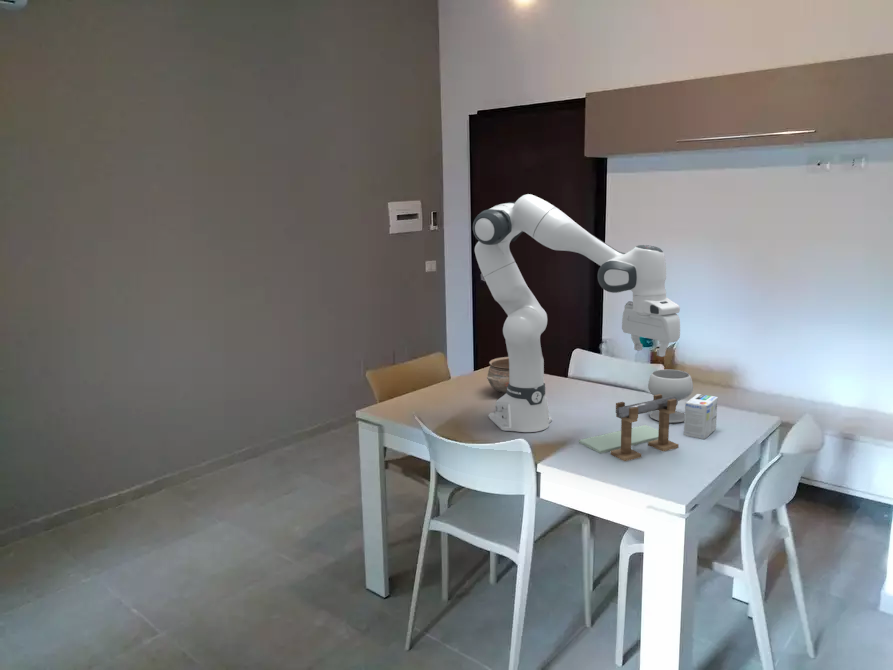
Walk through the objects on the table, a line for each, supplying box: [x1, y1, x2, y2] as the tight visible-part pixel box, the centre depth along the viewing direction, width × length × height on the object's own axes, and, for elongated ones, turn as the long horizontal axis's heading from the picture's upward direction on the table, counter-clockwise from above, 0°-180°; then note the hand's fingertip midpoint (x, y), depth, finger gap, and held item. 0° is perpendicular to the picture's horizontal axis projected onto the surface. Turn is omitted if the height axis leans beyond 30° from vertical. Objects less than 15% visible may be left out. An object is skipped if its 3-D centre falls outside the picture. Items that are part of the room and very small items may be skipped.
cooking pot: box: [486, 356, 509, 395], centre depth 249 cm, size 25×19×12 cm
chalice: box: [647, 368, 694, 424], centre depth 216 cm, size 14×14×15 cm
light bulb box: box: [683, 393, 719, 440], centre depth 202 cm, size 11×7×11 cm, turn 141°
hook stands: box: [610, 394, 679, 462], centre depth 189 cm, size 6×20×15 cm, turn 116°
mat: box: [578, 424, 659, 454], centre depth 199 cm, size 10×26×1 cm, turn 116°
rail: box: [615, 396, 679, 419], centre depth 187 cm, size 20×3×3 cm, turn 116°
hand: (649, 353), depth 185 cm, fingers open, 8 cm apart
